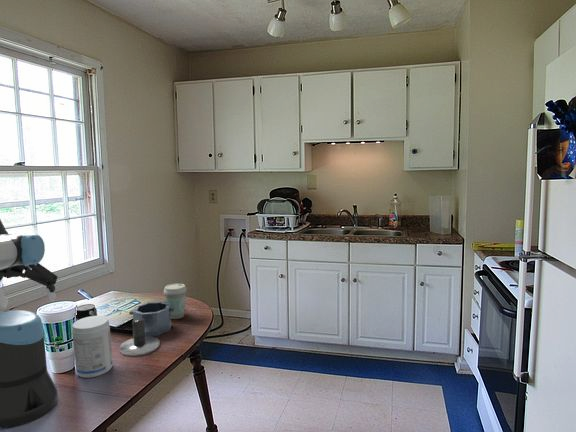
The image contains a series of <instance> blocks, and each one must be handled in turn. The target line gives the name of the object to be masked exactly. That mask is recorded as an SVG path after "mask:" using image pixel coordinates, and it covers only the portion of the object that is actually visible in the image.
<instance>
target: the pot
mask: <svg viewBox="0 0 576 432" xmlns="http://www.w3.org/2000/svg"><path fill="white" fill-rule="evenodd" d="M171 311H174V307H170V304H169V303H166V301H153V302H152V301H149V302H145V303H143V304H140V305H136V306H135V307H134V308H133V310H132V309H131V310H129V315H130V316H131V315H132V318H133V320H134V319H137V318H143V319H144V323H145V336H151V337H155V336H157V337H158V336H160V335H163V334H164V333H168V332H171V328H172V319H171ZM133 320H132V321H133Z"/></svg>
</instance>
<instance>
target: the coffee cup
mask: <svg viewBox="0 0 576 432" xmlns="http://www.w3.org/2000/svg"><path fill="white" fill-rule="evenodd" d="M186 293H187V287H186V285H185V284H184V283H171V284H167V285H165V286H164V289H163V294H164V297H165V298H164V299H165V303H169V304H170V307H174V311H171V320H178V319H182V318H184V317H185V312H186V311H185V310H186V298H187V297H186V296H187V294H186Z"/></svg>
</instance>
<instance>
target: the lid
mask: <svg viewBox="0 0 576 432" xmlns="http://www.w3.org/2000/svg"><path fill="white" fill-rule="evenodd" d="M131 323H132V338H130V339H128V340H125V341H123V342H122V343H121V344H120V346H119V353H120V354H121V355H123V356H126V357H137V356H138V357H139V356H143V355H147V354H150V353H152V352H154V351H155V350H157V349H158V348H159V347H160V339H159V337H158V338H157V337H155V336H145V323H144V319H143V318H137V319H134V320H132V321H131Z"/></svg>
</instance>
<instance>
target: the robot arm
mask: <svg viewBox="0 0 576 432" xmlns="http://www.w3.org/2000/svg"><path fill="white" fill-rule="evenodd" d="M45 251H46V248H45V242H44V239H43V238H42V236H41V235H39V234H37V233H25V232H24V233H11V234H9V233H8V231H7V229H6V228H5V226H4V224H3V222H2V219H0V282H1V281H2V280H3V278H6V279H10V278H18V277H21V278H22V279H23V278H24V279H25V278H26V279H29V280H31V281H34V282H35V283H38V284H41V285H43V290H44V291H45V293H46V294H47V296H48V298H49V300H50V302H51V303H52V302H55V300H56V297H57V294H56V292H55V291H56V286H55V284H56V283H57V281H58V275H56V274H55V273H53V272H52V271H50V270H49V269H47V267H45V266H44V265H42V264H41V263H40V262H41V261H42V260H43V258H44V255H45V253H46V252H45ZM8 305H9V299H7V297H6V295H5V293H4V292H3V291H2V289H1V288H0V307H1V309H2V310H5V309H7V307H8ZM43 325H44V324H43V322H42V319H41V317H40V316H39V315H38V314H37V313H35V312H33V311H29V310H24V309H23V310H22V309H21V310H20V309H18V310H17V309H14V310H13V309H11V310H8V311H0V429H3V428H12V427H13V428H14V427H18V426H21V425H23V424H27V423H29V422H32V421H35V420H37V419H39V418H40V417H43V416H44V415H45V414H47V413H49V412H50V411H51V410H52V409H53V408H54V407H55V406H56V405H57V404H58V401H59V394H58V393H59V391H58V388H57V386H56V384H55V382H54V381H53V378H52V377H51V375H50V374H49V372H48V366H47V357H46V353H47V352H46V346H45V329H44V326H43Z"/></svg>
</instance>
